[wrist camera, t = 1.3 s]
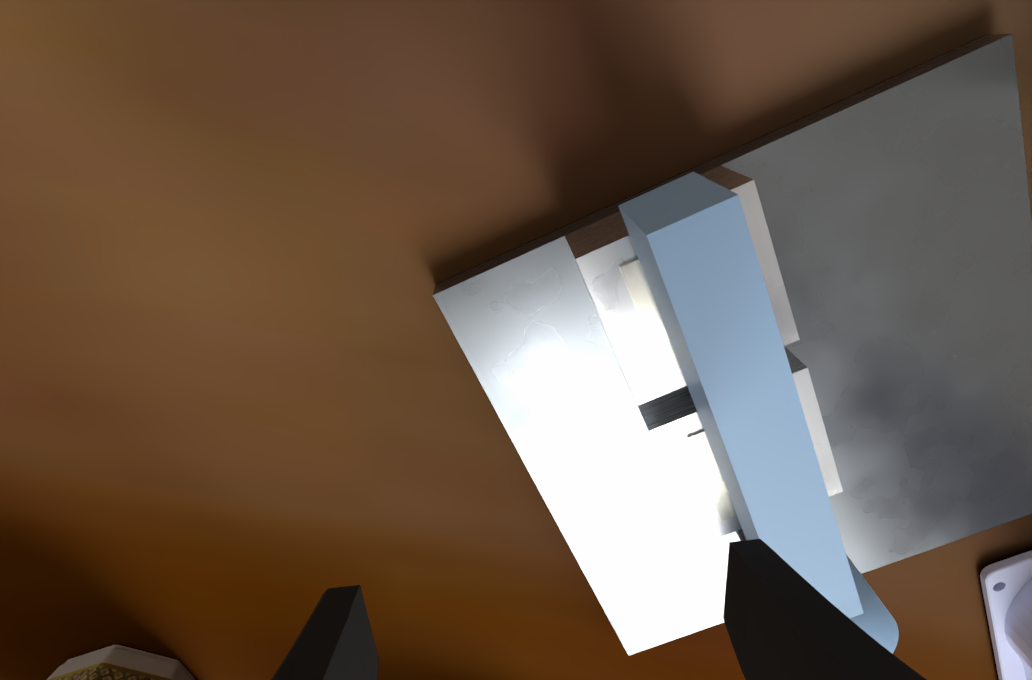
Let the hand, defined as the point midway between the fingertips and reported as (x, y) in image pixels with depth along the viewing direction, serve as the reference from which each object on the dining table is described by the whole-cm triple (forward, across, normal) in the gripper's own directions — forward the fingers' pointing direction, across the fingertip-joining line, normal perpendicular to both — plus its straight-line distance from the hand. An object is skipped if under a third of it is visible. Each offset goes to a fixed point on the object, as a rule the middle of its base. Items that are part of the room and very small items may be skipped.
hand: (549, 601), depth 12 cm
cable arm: (+6, -6, +1) cm, 9 cm away
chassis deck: (+10, -9, +2) cm, 14 cm away
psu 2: (+10, -5, -3) cm, 12 cm away
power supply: (+10, -7, +3) cm, 13 cm away
